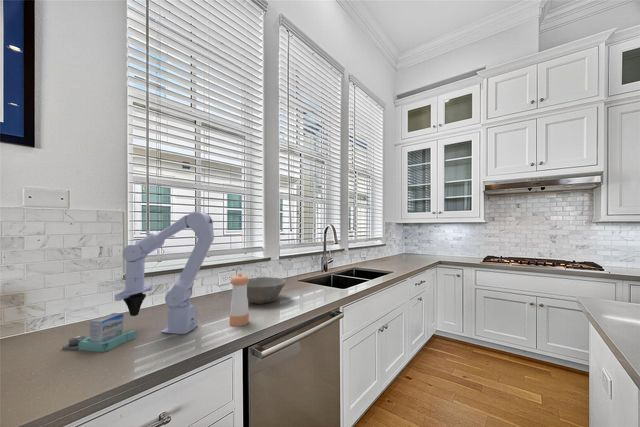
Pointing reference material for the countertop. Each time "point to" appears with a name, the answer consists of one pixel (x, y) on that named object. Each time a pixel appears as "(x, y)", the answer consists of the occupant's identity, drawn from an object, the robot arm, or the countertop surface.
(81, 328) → the countertop surface
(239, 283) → the salt shaker
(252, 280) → the ceramic bowl
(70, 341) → the chassis
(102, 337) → the medicine box
